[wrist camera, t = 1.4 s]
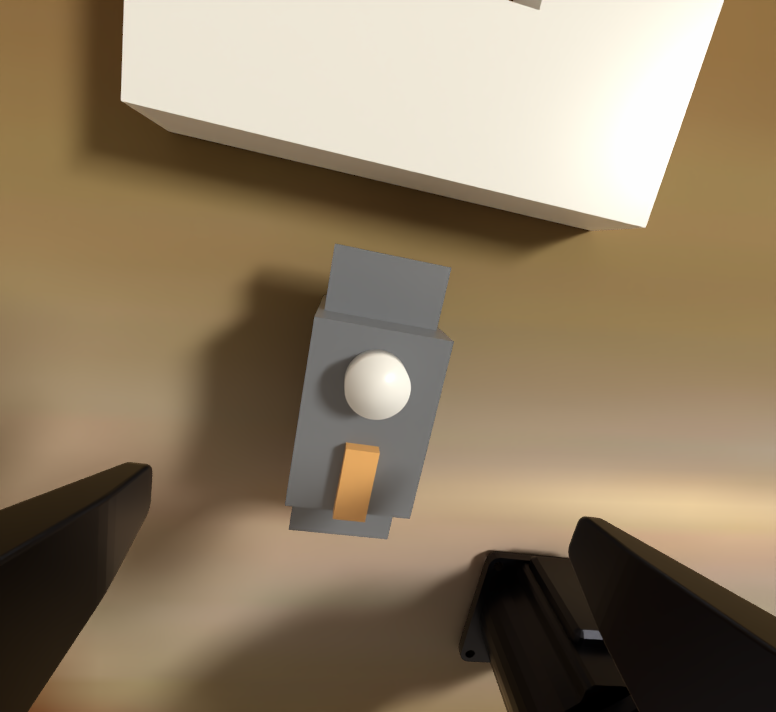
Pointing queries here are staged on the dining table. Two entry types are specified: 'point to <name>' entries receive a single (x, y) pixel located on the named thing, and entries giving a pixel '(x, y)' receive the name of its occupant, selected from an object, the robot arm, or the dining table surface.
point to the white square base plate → (436, 92)
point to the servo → (368, 394)
